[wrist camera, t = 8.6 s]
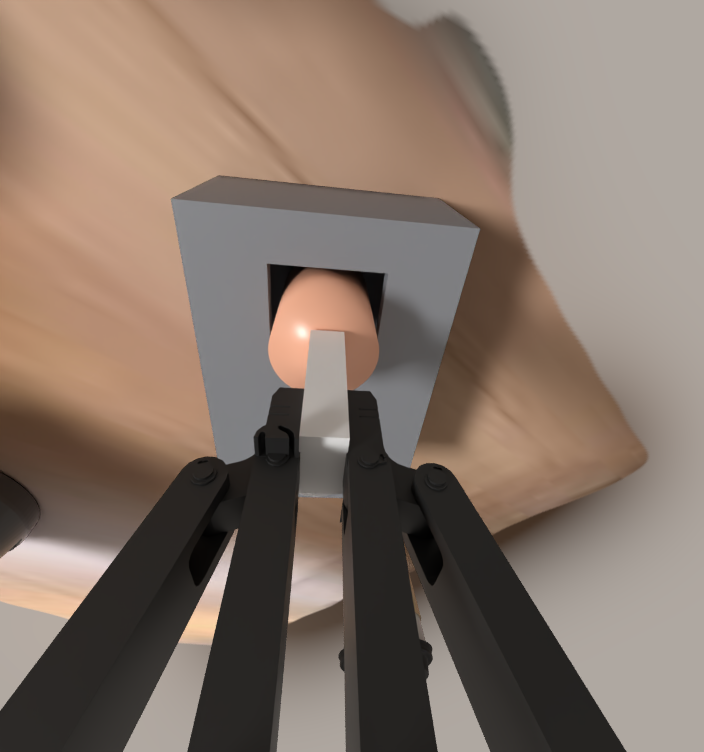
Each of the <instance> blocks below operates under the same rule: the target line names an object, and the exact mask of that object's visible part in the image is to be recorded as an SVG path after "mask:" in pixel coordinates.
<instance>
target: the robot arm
mask: <svg viewBox="0 0 704 752" xmlns="http://www.w3.org/2000/svg"><path fill="white" fill-rule="evenodd" d="M253 439H254V450H255V454H254V455H253V456H251V457H249V458H247V459H245V460H242V461H239V462H235V463H231V464H225V463H224V461H223V460H221V459H219V458H216V457H203V458H198V459H196V460H194V461H192V462H190V463H188V464H187V465H186V466H185V467H184V468H183V469H182V470H181V472H180V473H179V474H178V476H177V477H176V478H175V480H174V481H173V482H172V484H171V485H170V486H169V488H168V489H167V490H166V492H165V493H164V494H163V496H162V497H161V498H160V500H159V501H158V502H157V504H156V505H155V506H154V508H153V509H152V510H151V511H150V513H149V514H148V515H147V517H146V518H145V519H144V521H143V522H142V523H141V525H140V526H139V527H138V529H137V530H136V531H135V533H134V534H133V535H132V537H131V538H130V539H129V541H128V542H127V543H126V545H125V546H124V547H123V549H122V550H121V551H120V553H119V554H118V555H117V557H116V558H115V559H114V561H113V562H112V563H111V565H110V566H109V567H108V569H107V570H106V571H105V573H104V574H103V575H102V577H101V578H100V579H99V581H98V582H97V583H96V584H95V586H94V587H93V588H92V590H91V591H90V592H89V594H88V595H87V596H86V598H85V599H84V600H83V602H82V603H81V604H80V606H79V607H78V608H77V610H76V611H75V612H74V614H73V615H72V616H71V618H70V619H69V620H68V622H67V623H66V624H65V626H64V627H63V628H62V630H61V631H60V632H59V634H58V635H57V636H56V638H55V639H54V640H53V642H52V643H51V644H50V646H49V647H48V649H47V650H46V651H45V652H44V654H43V655H42V656H41V658H40V659H39V660H38V662H37V663H36V664H35V665H34V667H33V668H32V669H31V671H30V672H29V673H28V675H27V676H26V678H25V679H24V680H23V681H22V683H21V684H20V685H19V687H18V688H17V689H16V691H15V692H14V693H13V695H12V696H11V697H10V699H9V700H8V701H7V703H6V704H5V705H4V707H3V708H2V709H1V711H0V752H123V750H124V748H125V746H126V744H127V742H128V740H129V738H130V736H131V734H132V732H133V730H134V728H135V726H136V724H137V722H138V720H139V718H140V717H141V715H142V713H143V711H144V709H145V706H146V705H147V703H148V701H149V699H150V697H151V695H152V693H153V691H154V689H155V687H156V685H157V683H158V681H159V679H160V677H161V675H162V673H163V671H164V669H165V667H166V665H167V663H168V661H169V659H170V657H171V655H172V653H173V651H174V649H175V647H176V645H177V643H178V641H179V639H180V638H181V636H182V634H183V632H184V630H185V628H186V626H187V624H188V622H189V620H190V618H191V616H192V614H193V612H194V610H195V608H196V606H197V604H198V602H199V600H200V598H201V596H202V594H203V592H204V590H205V588H206V586H207V584H208V582H209V580H210V578H211V576H212V574H213V572H214V570H215V568H216V566H217V564H218V562H219V560H220V558H221V557H222V555H223V553H224V551H225V549H226V547H227V545H228V543H229V541H230V539H231V537H232V535H233V533H234V531H235V529H238V528H239V529H238V533H237V537H236V542H235V546H234V550H233V555H232V559H231V564H230V568H229V572H228V577H227V581H226V585H225V590H224V594H223V598H222V603H221V607H220V612H219V616H218V620H217V625H216V629H215V633H214V638H213V642H212V647H211V651H210V655H209V660H208V664H207V668H206V673H205V677H204V681H203V686H202V690H201V695H200V699H199V704H198V708H197V713H196V716H195V721H194V726H193V730H192V734H191V738H190V743H189V747H188V752H276V751H277V740H278V739H277V738H278V728H279V717H280V704H281V694H282V683H283V672H284V660H285V649H286V638H287V626H288V615H289V604H290V592H291V581H292V570H293V558H294V547H295V536H296V524H297V513H298V495H299V493H312V494H342V492H343V503H342V510H341V518H340V522H342V556H343V609H344V610H343V613H344V670H345V727H346V752H438V751H437V744H436V738H435V732H434V726H433V720H432V714H431V708H430V701H429V695H428V689H427V683H426V677H425V671H424V665H423V658H422V652H421V646H420V640H419V634H418V628H417V622H416V615H415V609H414V603H413V597H412V591H411V585H410V579H409V572H408V566H407V560H406V554H405V548H404V543H405V545H406V548H407V550H408V552H409V555H410V557H411V560H412V562H413V565H414V567H415V569H416V572H417V574H418V576H419V579H420V582H421V584H422V586H423V589H424V591H425V594H426V596H427V598H428V601H429V603H430V606H431V608H432V611H433V613H434V616H435V618H436V620H437V623H438V625H439V628H440V630H441V633H442V635H443V637H444V640H445V642H446V645H447V647H448V650H449V652H450V654H451V657H452V659H453V661H454V664H455V667H456V669H457V671H458V674H459V676H460V679H461V681H462V684H463V686H464V689H465V691H466V693H467V696H468V698H469V701H470V703H471V705H472V708H473V710H474V713H475V715H476V718H477V720H478V722H479V725H480V727H481V730H482V732H483V735H484V737H485V740H486V742H487V744H488V747H489V749H490V752H626V750H625V749H624V747H623V745H622V744H621V742H620V741H619V739H618V738H617V736H616V734H615V733H614V731H613V730H612V728H611V726H610V725H609V723H608V721H607V720H606V718H605V717H604V715H603V714H602V712H601V710H600V709H599V707H598V705H597V704H596V702H595V700H594V699H593V697H592V696H591V694H590V692H589V691H588V689H587V688H586V686H585V685H584V683H583V681H582V680H581V678H580V676H579V675H578V673H577V671H576V670H575V668H574V667H573V665H572V663H571V662H570V660H569V659H568V657H567V655H566V654H565V652H564V651H563V649H562V647H561V646H560V644H559V643H558V641H557V639H556V638H555V636H554V635H553V633H552V631H551V630H550V628H549V626H548V625H547V623H546V622H545V620H544V618H543V617H542V615H541V614H540V612H539V611H538V609H537V607H536V606H535V604H534V602H533V601H532V599H531V598H530V596H529V594H528V593H527V591H526V590H525V588H524V586H523V585H522V583H521V581H520V580H519V578H518V577H517V575H516V573H515V572H514V570H513V569H512V567H511V565H510V564H509V562H508V561H507V559H506V557H505V556H504V554H503V553H502V551H501V549H500V548H499V546H498V545H497V543H496V541H495V540H494V538H493V536H492V535H491V533H490V532H489V530H488V528H487V527H486V525H485V524H484V522H483V520H482V519H481V517H480V516H479V514H478V512H477V511H476V509H475V508H474V506H473V504H472V503H471V501H470V499H469V498H468V496H467V495H466V493H465V491H464V490H463V488H462V487H461V485H460V483H459V482H458V480H457V479H456V477H455V476H454V475H453V473H452V472H451V471H450V470H448V469H447V468H445V467H444V466H442V465H438V464H435V463H426V464H423V465H421V466H419V467H418V469H417V470H415V469H412V468H409V467H405V466H403V465H400V464H398V463H396V462H395V461H393V460H392V459H391V458H390V457H389V456H388V454H387V453H386V452H385V449H384V445H383V438H382V432H381V425H380V419H379V412H378V406H377V400H376V398H375V397H374V396H373V394H372V393H371V392H370V391H357V390H347V375H346V355H345V335H344V332H338V331H323V330H311V332H310V341H309V351H308V360H307V369H306V378H305V388H304V389H303V388H284V387H280V388H279V389H278V390H277V391H276V392H275V393H274V394H273V395H272V399H271V404H270V408H269V413H268V417H267V422H266V425H264V426H262V427H261V428H260V429H258V430H257V431H256V433H255V435H254V437H253ZM39 517H40V510H39V507H38V505H37V503H36V501H35V499H34V498H33V497H32V496H31V495H30V493H29V492H28V491H27V490H25V489H24V488H23V487H22V486H21V485H19V484H18V483H17V482H15V481H14V480H12V479H11V478H9V477H7V476H6V475H4V474H2V473H0V558H1V557H2V556H4V555H5V554H6V553H7V552H9V551H11V550H13V549H14V548H15V547H17V546H18V545H20V544H21V543H22V542H23V541H24V540H25V539H26V537H27V536H28V534H29V533H30V532H31V530H32V529H33V528H34V526H35V525H36V524H37V522H38V520H39ZM403 540H404V542H403Z"/></svg>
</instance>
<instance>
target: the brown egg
mask: <svg viewBox="0 0 704 752" xmlns="http://www.w3.org/2000/svg"><path fill="white" fill-rule="evenodd" d="M311 330H323V331H338V332H344V335H345V355H346V375H347V390H354V389H356V388H358V387H359V386H360V385H362V384H363V383H364V382H365V381H366V380H367V379H368V378H369V377H370V376H371V374H372V373H373V371H374V369H375V367H376V365H377V362H378V358H379V343H378V339H377V334H376V329H375V324H374V319H373V314H372V310H371V305H370V300H369V295H368V290H367V286H366V282H365V279H364V277H363V275H362V273H361V271H351V270H339V269H327V268H314V267H302V266H294V267H293V268H292V270H291V271H290V273H289V275H288V277H287V280H286V283H285V286H284V290H283V293H282V297H281V300H280V303H279V307H278V310H277V314H276V317H275V321H274V324H273V328H272V331H271V335H270V338H269V344H268V354H269V359H270V363H271V365H272V367H273V369H274V371H275V372H276V374H277V375H278V376H279V378H280V379H281V380H282V381H283V382H284V383H286V384H287V385H288V386H290V387H291V388H303V389H304V388H305V378H306V369H307V360H308V351H309V341H310V332H311Z"/></svg>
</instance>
